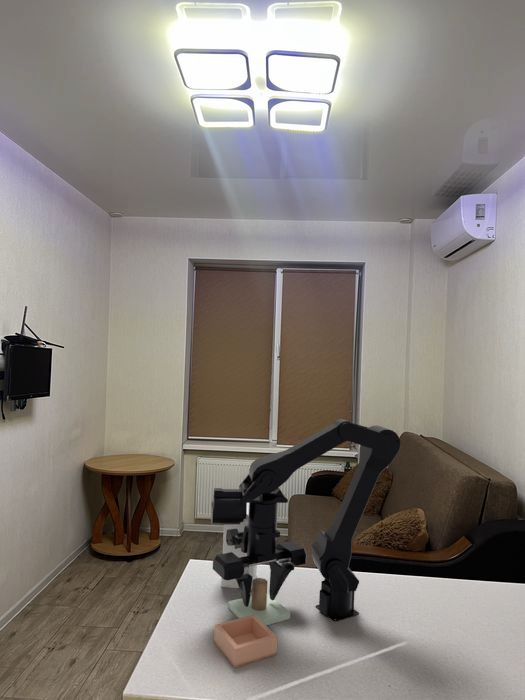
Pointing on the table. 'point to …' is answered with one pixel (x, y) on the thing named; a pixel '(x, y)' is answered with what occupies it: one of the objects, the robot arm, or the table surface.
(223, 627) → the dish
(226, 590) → the table surface
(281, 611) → the lid
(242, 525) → the milk carton
